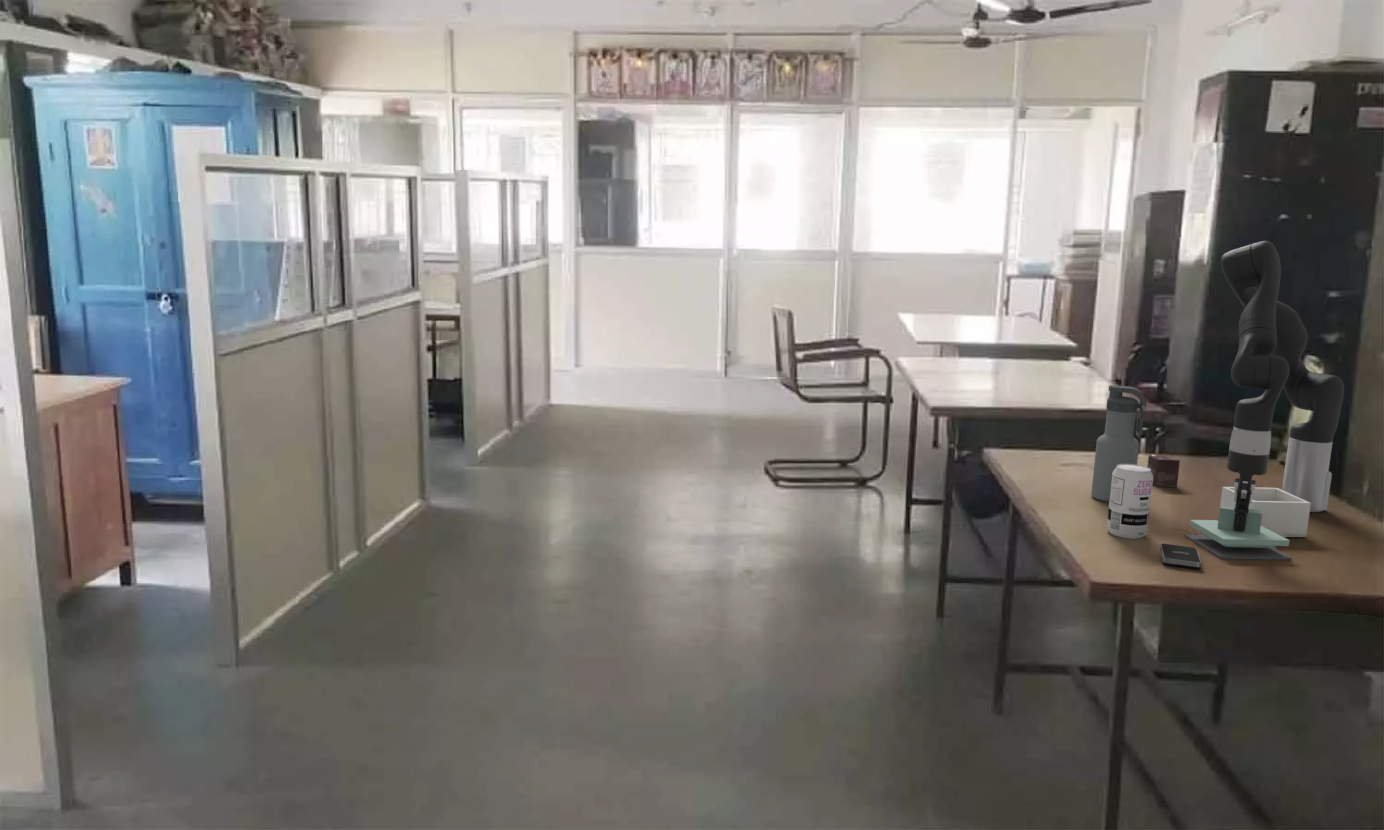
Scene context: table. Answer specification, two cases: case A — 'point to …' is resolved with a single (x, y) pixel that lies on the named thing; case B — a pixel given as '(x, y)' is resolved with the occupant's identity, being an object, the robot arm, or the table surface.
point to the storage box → (1276, 510)
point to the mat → (1236, 550)
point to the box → (1164, 470)
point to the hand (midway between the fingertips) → (1238, 528)
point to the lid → (1230, 538)
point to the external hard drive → (1180, 556)
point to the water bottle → (1117, 438)
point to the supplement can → (1129, 501)
